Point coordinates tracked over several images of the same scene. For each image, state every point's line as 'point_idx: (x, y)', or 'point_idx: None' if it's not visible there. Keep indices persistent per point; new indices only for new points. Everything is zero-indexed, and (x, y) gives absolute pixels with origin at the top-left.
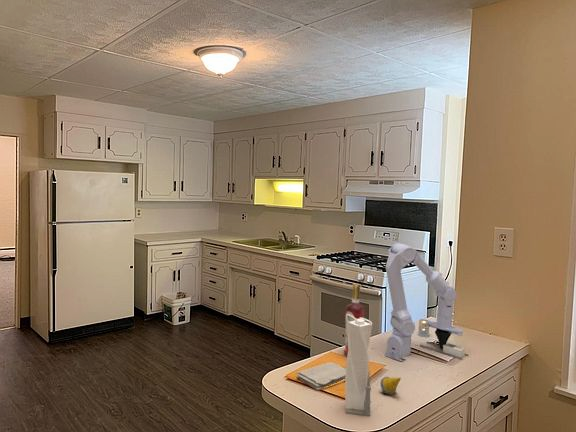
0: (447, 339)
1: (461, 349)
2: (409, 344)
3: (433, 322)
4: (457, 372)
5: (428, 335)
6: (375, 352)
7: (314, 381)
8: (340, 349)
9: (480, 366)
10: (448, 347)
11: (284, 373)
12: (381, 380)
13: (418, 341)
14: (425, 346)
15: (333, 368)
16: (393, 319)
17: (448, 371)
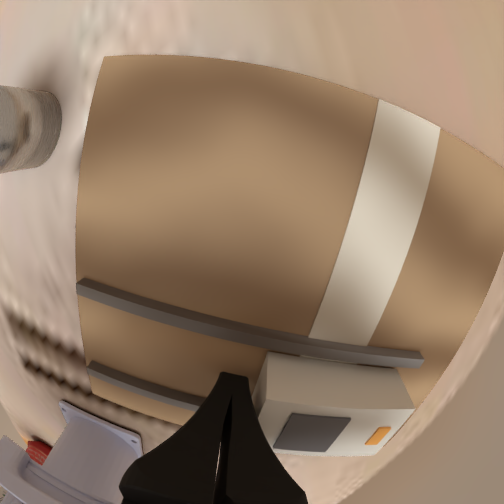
0: (261, 443)
1: (383, 441)
2: (122, 498)
3: (28, 499)
4: (343, 470)
5: (36, 120)
6: (52, 430)
7: None
8: (16, 426)
9: (451, 379)
10: (288, 450)
11: None
12: None
13: (33, 215)
14: (122, 385)
15: None
16: None
17: (310, 478)
